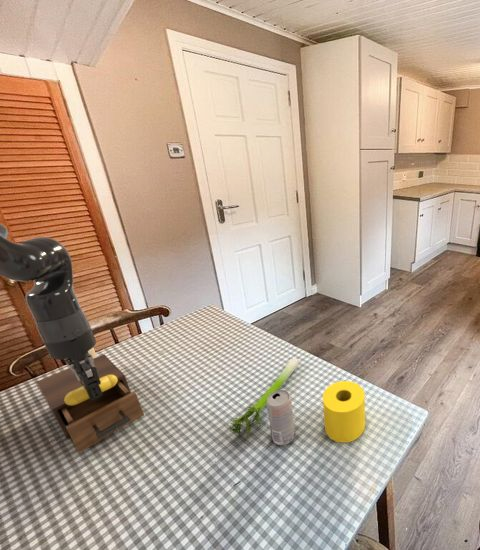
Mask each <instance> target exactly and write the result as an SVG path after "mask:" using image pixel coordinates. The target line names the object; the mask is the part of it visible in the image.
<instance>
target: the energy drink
mask: <svg viewBox="0 0 480 550" xmlns="http://www.w3.org/2000/svg"><path fill="white" fill-rule="evenodd" d="M292 402H293V401H292V397H291V395H290V393H289V391H287V390H285V389H279V390H277V391H274V392H272V393H271V394H270V395H269V396H268V398H267V404H266V409H267V415H268V419H269V420H268V421H269V427H270V432H271V439H272V442H273V443H274V444H275V445H277V446H286V445H288V444H290V443H291V442H292V441H294V439H295V437H296V427H295V419H294V409H293V403H292Z"/></svg>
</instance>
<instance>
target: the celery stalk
mask: <svg viewBox="0 0 480 550" xmlns="http://www.w3.org/2000/svg"><path fill="white" fill-rule="evenodd" d="M300 363H301V361H300V360H299V359H298V358H290V359H289V360H288V362H287V364H286V366H285V367H284V369H283V370H282V371H281V373H280V374H279V375H278V377H277V378H276V380H274V382H273V384H272V385H271V386H270V387H269V388H268V390H267V391H265V392H264V394H263V395H262V396H261V397H260V398H259V399H258V400H257V401H256V402H255V403H254V404H253V405H252V406H250V405H249V406H246V407H245V409H246V410H247V411H246V412H245V413H244V414H242V416H241V417H235V419H234V420H232V422H230V425H231V426H230V427H229V429H230V431H229V432H232V433H233V434H235V435H236V434H237V435H239V436H240V435H241V434H242V431H241V430H242V425H243V424H245V426H244V431H245V432H244V436H246V437H247V436H248V434H249V433H250V432H251V431H252V426H253V424H254V423H256V425H259V427H260V426H261V425H262V421H261V412H262V411H263V409H264V408H265V406H267V398H268V396H269V395H270V394H271V393H272V392H274V391H277V390H281V388H282V386H283V385H284V384H285V383H286V381H287V380H288V379H289V377H290V376H291V375H292V374H293V372H294V371H295V369H297V367H298V366H299V365H300ZM251 416H253V419H252V418H251V419H250V417H251Z"/></svg>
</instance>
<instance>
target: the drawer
mask: <svg viewBox="0 0 480 550" xmlns="http://www.w3.org/2000/svg"><path fill="white" fill-rule="evenodd" d="M102 393H103V396H102V397H100V398H98V399H96V400H93V401H92V400H91V399H90V398H89V399H87V400H85V401H83V402H81V403H79V404H77V405H73V406H70V405H67V406H65V407H63V408H61V409H60V410H61V412H62V414H63V416H64V418H65V420H66V422H67V424H68V426H66V429H67V431H68V433H69V435H70V438H71V441H72V442H73V444H74V447H75V448H76V450H77V452H78V453H81V452H83V451H85V450H87V449H88V448H90V447H92V446H93V445H95V444H97V443H99V442H101V441H102V440H104V439H105V438H108V437H109V436H111V435H112V434H114V433H116V432H118V431H120V430H121V429H123V428H125V427H126V426H128V425H130V424H132V423H133V422H135V421H137V420H139V419H141V418H142V417H144V416H145V413H144V411H143V407H142V406H141V405H142V404H141V402H140V400H139V398H138V395H137V392H136V391H131V393H130V392H129V391H128V390H127V388H126V387H125V386H124V385H123V384H122V383H121V382H120V381H117V384H116V385H115V386H114V387H112V388H110V389H108V390H106V391H104V392H102Z"/></svg>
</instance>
